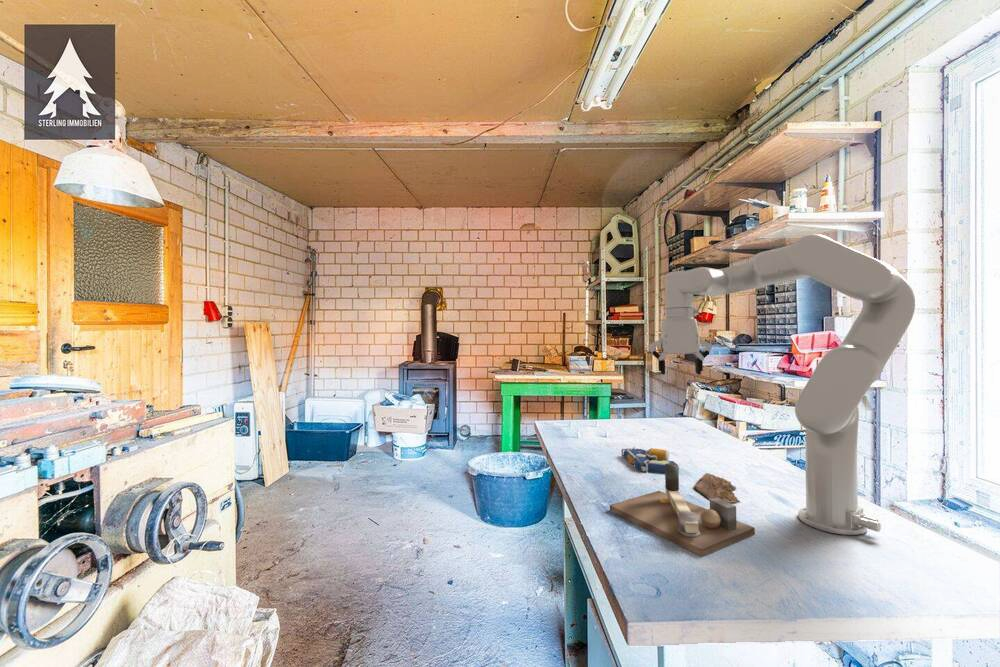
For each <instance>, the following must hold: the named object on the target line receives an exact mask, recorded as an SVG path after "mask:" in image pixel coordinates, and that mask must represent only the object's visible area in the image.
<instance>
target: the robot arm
mask: <svg viewBox="0 0 1000 667" xmlns="http://www.w3.org/2000/svg"><path fill="white" fill-rule="evenodd" d="M807 278H811V279H813V280H815V281H817V282H819V283H822V284H823V285H825V286H827V287H829V288H831V289H833V290H834V291H836V292H839V293H841V294H843V295H845V296H847V297H849V298H851V299H853V300H856V301H861V302H862V308H861V311H860V312H859V314H858V315H857V317H856V318H855V320H854V321H853V323H852V325H851V327H850V329H849V331H848V332H847V334H846V335H845V338H844V339H843V341H842V342H841V343H840V344H839V345H838V346H836V347H834V348H832V349H831V350H829V351H827V353H825V354H824V356H823V357H822V358H821V359H820V361H819V362H818V364H817V366H816V367H815V369H814V371H813V372H812V375H810V377H809V379H808V380H807V383H806V384H805V386H804V388H803V389H802V391H801V392H800V395H799V396H798V399H797V400H796V403H795V407H794V413H795V417H796V419H797V421H798V422H799V424H800V425H801V426H802V427H803V428H804V429H805V443H804V444H805V446H804V447H805V451H804V452H805V455H804V456H805V457H804V459H805V461H804V462H805V507H803V508H800V509H799V511H798V514H797V516H798V519H799V520H800V521H801V522H803V523H804V524H806V525H808V526H809V527H811V528H813V529H814V528H815V529H817V530H820V531H823V532H828V533H832V534H836V535H837V534H838V535H844V536H845V535H846V536H847V535H848V536H858V535H862V534H865V533H867V530H871V531H874V532H877V533H879V532H880V531H881V530H882V529H881V527H882V525H881V523H880V522H879V519H878V518H876V517H875V518H874V517H871V516H868V515H867V516H866V514H864V508H863V507H859V506H858V504H859V502H858V501H859V498H858V495H859V494H858V432H859V431H858V430H859V421H860V420H859V417H860V413H859V412H860V411H859V410H860V408H859V405H860V403H861V401H862V400H863V398H864V397H865V395H866V394H867V392H868V391H869V389H870V388H871V386H872V385H873V384H874V383H875V382H876V381H877V380H878V379H879V378H880V377H881V375H882V372H883V370H884V368H885V367H886V364H888V361H889V359H890V358H891V356H892V354H893V353H894V352H895V350H896V348H897V346H898V344H899V343H900V340H902V338H903V336H904V335H905V333H906V332H907V329H908V328H909V325H910V324H911V322H912V320H913V317H914V314H915V310H916V299H915V294H914V290H913V288H912V287H911V285H910V284H909V282H908V280H906V278H904V276H903V275H902V273H901V274H900V273H899V272H898V271H897V270H896V269H895V268H894V267H892V266H891V265H889V264H888V263H886V262H884V261H882V260H879V259H877V258H874V257H873V256H870V255H867V254H865V253H862V252H861V251H858V250H856V249H853V248H851V247H848V246H846V245H844V244H841V243H840V242H838V241H835V240H833V239H832V238H830V237H828V236H826V235H823V234H817V233H816V234H815V233H814V234H807V235H804V236H802V237H799V238H798V239H797V240H795V241H794V242H793V243H792V244H790V245H786V246H782V247H778V248H774V249H769V250H765V251H760V252H758V253H756V254H755V255H754V256H753V257H752V258H751V259H749V260H748V261H746V262H743V263H740V264H736V265H733V266H728V267H727V266H726V267H724V268H723V267H722V268H719V269H718V268H712V267H705V266H700V267H695V268H692V269H687V270H675V271H670V272H667V273H666V274H665V276H664V296H665V297H664V299H665V300H664V301H665V304H664V306H665V309H664V310H665V319H662V322H661V328H660V338H659V339H657V340H656V341H654V342H651V343H650V344H648V349H649V351H650V352H651V354H652V355H653V357H654V358H656V360H658V361H657V362H658V372H660V374H661V375H665V374H666V361H665V358H666V357H667V355H685V354H686V355H688V354H689V355H690V354H693V356H695V358H696V359H695V361H694V362H695V363H694V366H695V368H694V369H695V370H694V371H695V374H697V375H701V374H702V372H703V371H704V368H703V367H704V366H703V365H704V364H703V363H704V362H703V361H704V360H705V358H706V357H707V356H709V355H710V352H711V351H712V348H713V346H714V345H713V344H712V343H710V342H708V341H705V340H703V339H701V338H700V333H699V327H698V322H697V319H696V318H695V317H696V315H698V316H699V315H700V310H699V309H695V308H694V295H695V296H696V295H699V296H711V297H718V296H719V297H720V296H724V295H730V294H734V293H735V294H736V293H740V292H744V291H745V292H746V291H749V290H753V289H759V288H763V287H766V286H771V285H776V284H782V283H786V282H787V283H788V282H791V281H792V282H793V281H796V280H802V279H807ZM658 346H659V347H660V351H661V352H660V353H658V352H657V350H656V347H658ZM701 346H703V347H705V348H704V350H703V351H702V352H700V348H701Z"/></svg>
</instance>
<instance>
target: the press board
mask: <svg viewBox="0 0 1000 667" xmlns="http://www.w3.org/2000/svg"><path fill="white" fill-rule="evenodd" d="M684 501H685V503H686V504H687V506H688V507H689V509H690V511H691V512H694V513H696V514H698V515H699V533H686V532H684V531H682V530H680V529H679V518H678V516H677V514H676V512H675V510H674V508H673V506H672V504H671V502H670V500H669V499H668V497H667V495H666V492H663V491H660V490H657V491H654V492H650V493H645V494H643V495H639V496H636V497H633V498H629V499H626V500H625V499H624V500H622V501H618V502H614V503H612V504H609V512H611V513H613V514H615V515H617V516H618V517H621V518H623V519H625V520H627V521H629V522H631V523H633V524H634V525H637V526H639V527H641V528H644V529H646V530H647V531H649V532H651V533H653V534H655V535H657V536H659V537H660V538H661V537H662V538H663V539H666V540H668V541H669V542H672V543H674V544H675V545H678V546H680V547H681V548H684V549H686V550H688V551H690V552H692V553H694V554H695V555H698V556H699V557H702V558H703V557H705V556H707V555H709V554H712V553H714V552H716V551H718V550H721V549H723V548H726V547H728V546H730V545H731V546H732V545H733V544H735V543H738V542H740V541H742V540H745V539H747V538H749V537H752V536H754V535H755V534H756V533H755V531H756V528H755V527H754V526H752V525H750V524H746V523H743V522H741V521H738V520H737V505H734V504H730V503H728V502H726V501H724V500H721V499H719V498H715V499H709V508H705V507H702V506H699V505H697V504H694V503H692V502H689V501H687V500H685V499H684Z"/></svg>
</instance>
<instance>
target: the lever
mask: <svg viewBox="0 0 1000 667" xmlns="http://www.w3.org/2000/svg"><path fill="white" fill-rule="evenodd" d="M679 471H680V466H679V464H678V465H677V463H676V464H673V463H667V464H665V473H664V475H665V476H664V479H665V485H664V488H665V493H666V495H667V497H668V499H669V500H670V502H671V504H672V506H673V508H674V510H675V512H676V514H677V516H678V518H679V529H680V530H682V531H684V532H686V533H699V515H698V514H696V513H694V512H691V511H690V509H689V507H688V506H687V504H686V503H685V501H686V500H685V499H684V497H683V496H682V494H681V492H680V491H679V490H680V476H679V475H680V474H679V473H680V472H679ZM684 500H685V501H684Z"/></svg>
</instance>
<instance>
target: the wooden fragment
mask: <svg viewBox="0 0 1000 667" xmlns="http://www.w3.org/2000/svg"><path fill="white" fill-rule="evenodd" d="M731 483H732V481H730V480H729V481H728V480H727V479H725V478H723V477H719V476H716V475H715V474H711V473H710V472H705V473H704V475H702V477H701V478H699V480H698V481H697V482H696V483H695V484H694V485H693V488H694V489H695V490H696V491H697V492H699V493H701V494H702V495H703V496H705V497H706V498H708V499H709V500H710V499H715V498H719V499H721V500H724V501H726V502H728V503H730V504H733V505H734V504H739V503H741V501H740V500H739V499H738V497H737V496H735V493H734V492H733V491H735V490H736V489H737V488H736V486H734V485H733V484H731ZM738 502H739V503H738Z"/></svg>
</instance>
